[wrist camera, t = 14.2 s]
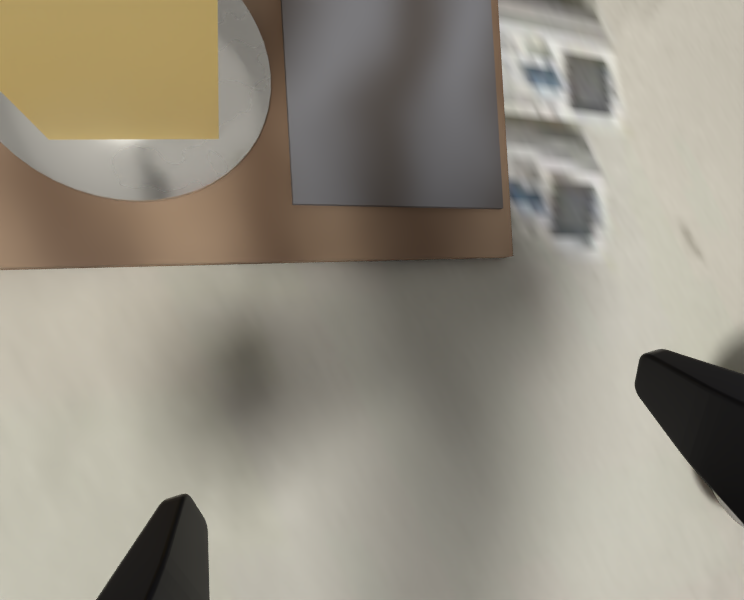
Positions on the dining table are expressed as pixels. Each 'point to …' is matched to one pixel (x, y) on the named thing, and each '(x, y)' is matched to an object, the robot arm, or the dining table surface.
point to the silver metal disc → (162, 156)
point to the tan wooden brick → (112, 67)
